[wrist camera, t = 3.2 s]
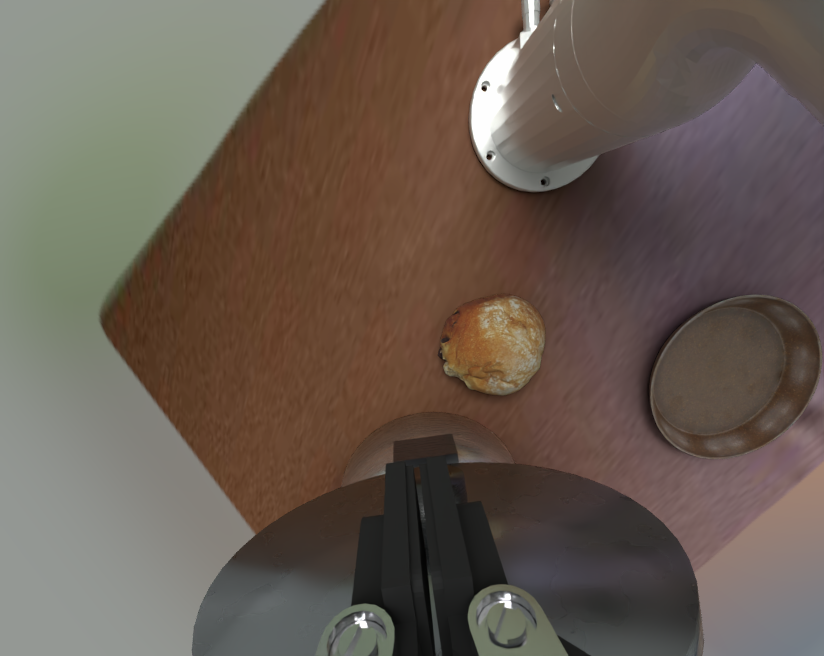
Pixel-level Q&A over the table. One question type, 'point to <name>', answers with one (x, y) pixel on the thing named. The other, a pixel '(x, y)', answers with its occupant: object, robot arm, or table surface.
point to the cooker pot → (424, 444)
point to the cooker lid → (518, 550)
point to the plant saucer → (735, 376)
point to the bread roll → (493, 343)
